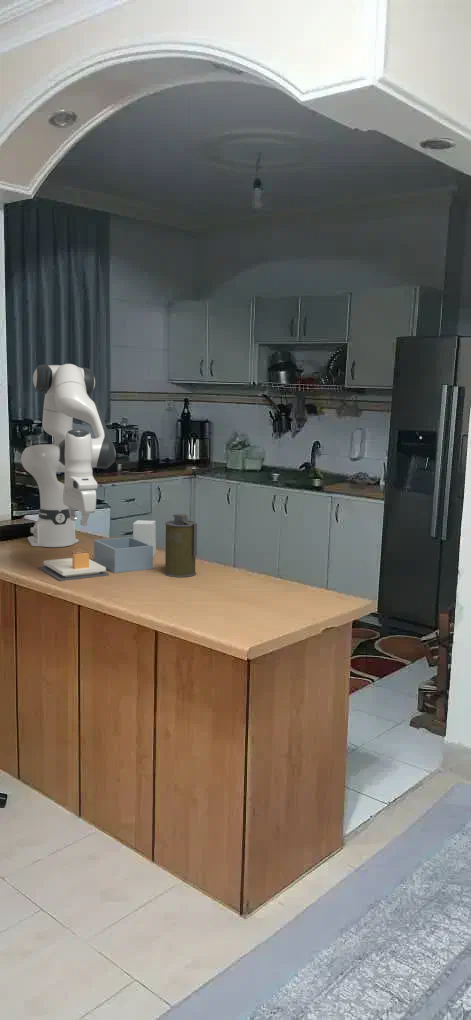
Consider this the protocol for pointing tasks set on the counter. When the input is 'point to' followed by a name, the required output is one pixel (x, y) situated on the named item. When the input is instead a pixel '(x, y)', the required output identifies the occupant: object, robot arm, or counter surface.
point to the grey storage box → (123, 554)
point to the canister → (180, 547)
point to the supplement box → (145, 532)
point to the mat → (61, 577)
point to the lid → (75, 565)
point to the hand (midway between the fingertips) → (78, 522)
